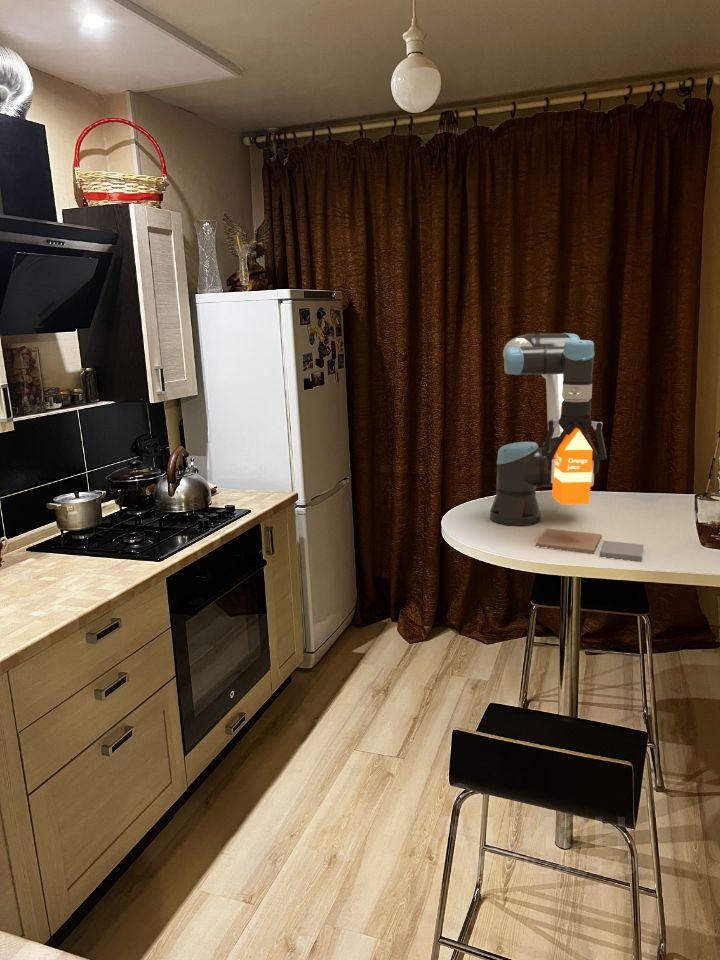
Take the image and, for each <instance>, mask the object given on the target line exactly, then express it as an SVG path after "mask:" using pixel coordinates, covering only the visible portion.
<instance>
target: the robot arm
mask: <svg viewBox="0 0 720 960" xmlns="http://www.w3.org/2000/svg"><path fill="white" fill-rule="evenodd" d="M502 350H503V351H502V356H503V361H504V362H503V366H504V373H505V374H506V375H514V376H519V375H521V376H522V375H541V376H542V378H544V379H545V386H546V387H545V389H546V417H547V433H546V437H545V440H544V442H543V445H542V446H543V447H539V445H538V443H537V442H534V441H520V442H518V441H517V442H513V443H511V442H510V443H508V444H505V445H503V446H501V447H500V448H499V449H498V451H497V460H496V464H497V471H496V472H497V473H496V494H495V497H494V500H493V502H492V505H491V508H490V511H489V519H490V520H491V521H492V522H495V523H497V524H500V525H507V526H531V525H535V524H538V523H540V522H541V520H542V519H541V518H542V512H541V509H540V505H539V503H538V502H539V501H538V499H537V496H536V492H537V487H548V488H549V487H552V488H553V483H554V482H555V469H556V458H554V455H555V453H556V451H557V449H558V447H559V446H560V444H561V443H562V441H563V440H564V438H565V437H566V435H570V434H571V433H572V432H573V431H574V429H575V428H578V429H579V430H580V431H581V433H582V434H583V436H584V437H585V439H586V440H587V442H588V443H589V445H590V447H591V448H592V450H593V451H592V467H591V484H590V487H593V486H594V485H595V482H594V481H595V474H598V473H599V470H600V462H601V461H605V460H606V459H607V457H608V455H607V449H606V446H605V440H604V436H603V435H604V434H603V431H602V430H603V425H604V423H603V421H593V420H592V417H591V414H592V402H591V399H592V397H593V396H592V394H593V373H594V360H595V356H596V355H595V354H596V353H595V343H594V341H593V340H591V339H589V340H587V339H581V338H580V337H579V335H578V334H575V333H569V332H568V333H567V332H562V333H527V334H526V333H525V334H521V335H519V336H516V337H514V338H511V339H510V340H509V341H507V342H506V343H505V345H504V346H503V349H502ZM591 426H592V428H593V430H594V431H595V435H596V439H597V445H598V450H599V454H598V452H597V449H596V448H595V445H594V443H593V441H592V439H591V437H590V434H589V432H588V429H590V428H591Z"/></svg>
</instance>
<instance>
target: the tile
mask: <svg viewBox="0 0 720 960" xmlns="http://www.w3.org/2000/svg"><path fill="white" fill-rule="evenodd" d="M643 552H644V544H640V543H631V542H629V543H628V542H621V541H611V540H610V541H609V540H603V541H602V545H601V547H600V551H599V558H600V557H606V558H605V559H609V558H614V559H613V560H618V559H623V560H622V561H627V560H630V561H629V562H636V563H637V562H639V563H642V560H643V559H642V558H643Z"/></svg>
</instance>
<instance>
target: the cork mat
mask: <svg viewBox="0 0 720 960" xmlns="http://www.w3.org/2000/svg"><path fill="white" fill-rule="evenodd" d="M602 536H603V534H601V533H594V532H593V533H592V532H584V531H577V530H576V531H573V530H564V529H557V528H556V529H555V528H546V529H545V531H544V532H543V533H542V535H541V536H540V537H539V539H538V540H537V541H536V542H535V547H536V546H539V547H538V548H541V547H547V548H546V549H549V548H554V549H553V550H557V549H561V550H560V551H566V550H568V551H567V552H574V551H575V552H574V553H582V552H583V553H584V554H591V553H592V554H593V555H594V554H595V552H596V550H597V548H598V545H599V544H600V542H601V540H600V539H602ZM583 553H582V554H583Z"/></svg>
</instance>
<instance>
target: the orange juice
mask: <svg viewBox="0 0 720 960" xmlns="http://www.w3.org/2000/svg"><path fill="white" fill-rule="evenodd" d="M592 451H593V450H592V448H591V447H590V445H589V443H588V442H587V440H586V439H585V437H584V436H583V434H582V433H581V431H580V430H579V429H578V428H575V429H574V431H573V432H572V433H571V434H570V435H566V437H565V438H564V440H563V441H562V443H561V444H560V446H559V447H558V449H557V451H556V453H555V455H554V458H556V469H555V482H554V483H553V487H552V493H551V495H552V496H551V497H552V498H553V499H554V500H556V501H557V502H558V503H559V504H560V505H590V498H591V497H590V495H591V486H590V484H591V467H592V460H593V458H592Z"/></svg>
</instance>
